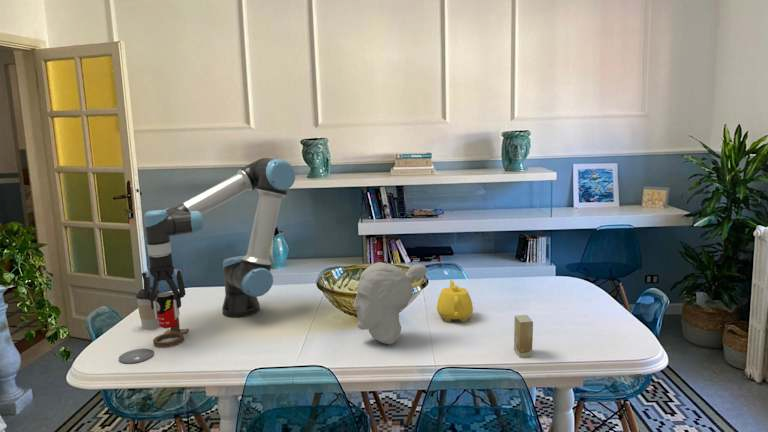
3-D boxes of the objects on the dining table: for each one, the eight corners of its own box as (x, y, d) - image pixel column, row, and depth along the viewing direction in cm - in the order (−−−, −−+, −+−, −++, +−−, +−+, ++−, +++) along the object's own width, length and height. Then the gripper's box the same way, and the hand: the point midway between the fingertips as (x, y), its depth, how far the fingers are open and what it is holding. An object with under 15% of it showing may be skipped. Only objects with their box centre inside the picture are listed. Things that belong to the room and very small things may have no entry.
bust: (352, 335, 203) (349, 260, 199) (422, 328, 208) (421, 255, 203) (357, 351, 189) (353, 271, 184) (432, 344, 193) (431, 265, 188)
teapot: (438, 326, 210) (438, 293, 207) (435, 308, 229) (434, 278, 227) (475, 325, 209) (475, 292, 207) (469, 307, 229) (468, 277, 227)
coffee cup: (155, 331, 213) (151, 293, 211) (134, 330, 215) (130, 292, 212) (169, 322, 222) (165, 286, 219) (148, 321, 224) (144, 285, 221)
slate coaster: (158, 349, 196) (158, 347, 196) (147, 363, 185) (147, 361, 185) (126, 351, 195) (126, 349, 195) (113, 364, 185) (113, 363, 184)
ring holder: (191, 330, 213) (188, 293, 210) (179, 346, 198) (175, 306, 195) (164, 331, 212) (160, 294, 210) (149, 348, 197) (145, 308, 195)
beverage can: (163, 322, 205) (159, 291, 203) (180, 322, 205) (177, 290, 202) (156, 329, 199) (152, 297, 196) (173, 329, 198) (170, 296, 196)
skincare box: (513, 350, 186) (513, 315, 184) (526, 349, 187) (526, 314, 185) (519, 358, 180) (520, 321, 178) (532, 357, 180) (533, 321, 178)
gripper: (191, 250, 201) (197, 311, 205) (136, 253, 200) (144, 314, 204) (184, 255, 193) (191, 319, 198) (127, 258, 193) (136, 322, 197)
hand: (167, 316), depth 201 cm, fingers closed on beverage can, 6 cm apart
